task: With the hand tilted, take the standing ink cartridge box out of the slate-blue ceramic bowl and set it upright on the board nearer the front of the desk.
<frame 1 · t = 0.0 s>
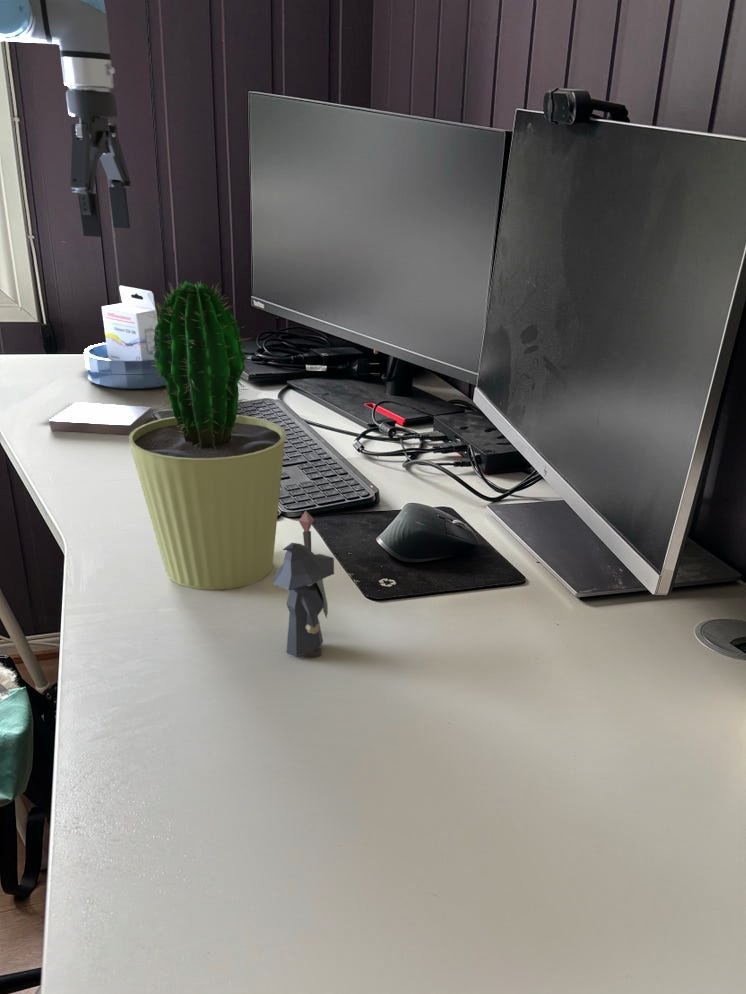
hand: (107, 232, 164), 23 cm above the table, tool pointing down, fingers open, 13 cm apart
bowl: (137, 379, 170), on the table
board: (103, 423, 147), on the table
potted cactus: (220, 568, 104), on the table
wizard figurine: (302, 647, 90), on the table
ink cartridge box: (136, 377, 170), resting on bowl
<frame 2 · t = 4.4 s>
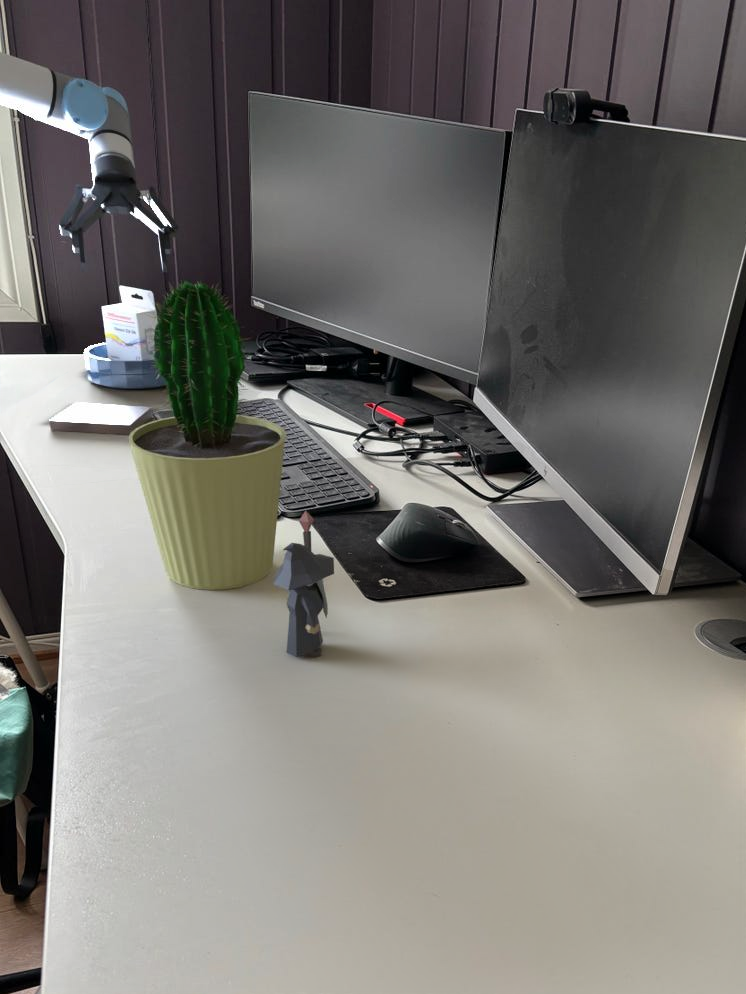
hand: (124, 267, 171), 17 cm above the table, tool tilted 45°, fingers open, 13 cm apart
nothing on the table moved.
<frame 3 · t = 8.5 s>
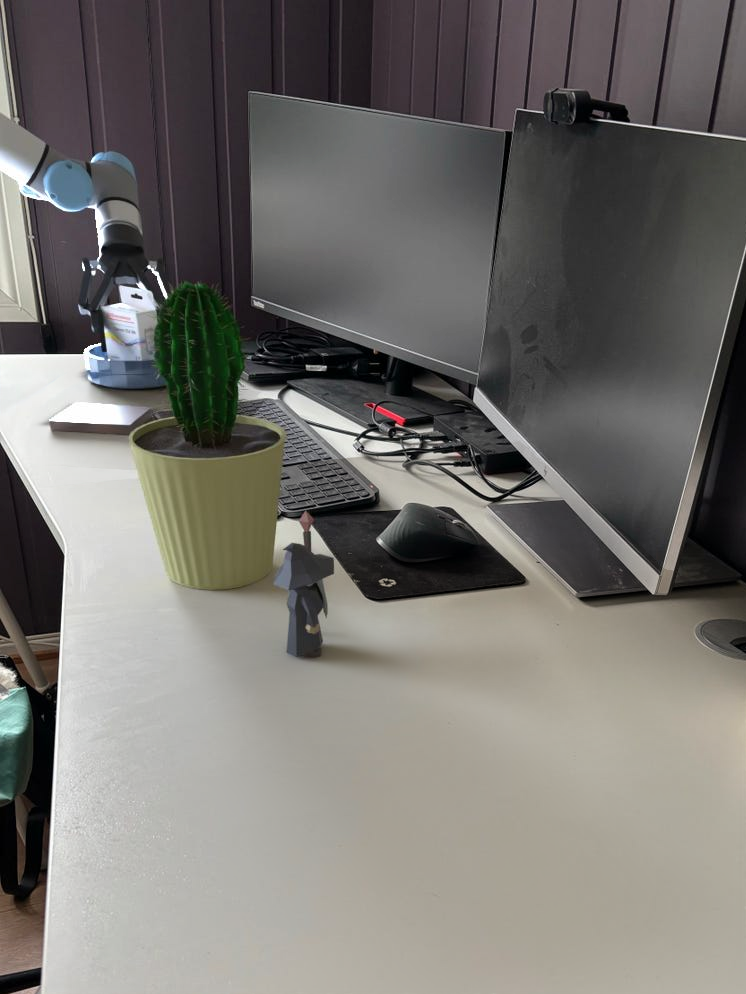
hand: (133, 346, 165), 6 cm above the table, tool tilted 45°, fingers closed on ink cartridge box, 9 cm apart
ink cartridge box: (136, 377, 170), resting on bowl, touching gripper
everything else where it was.
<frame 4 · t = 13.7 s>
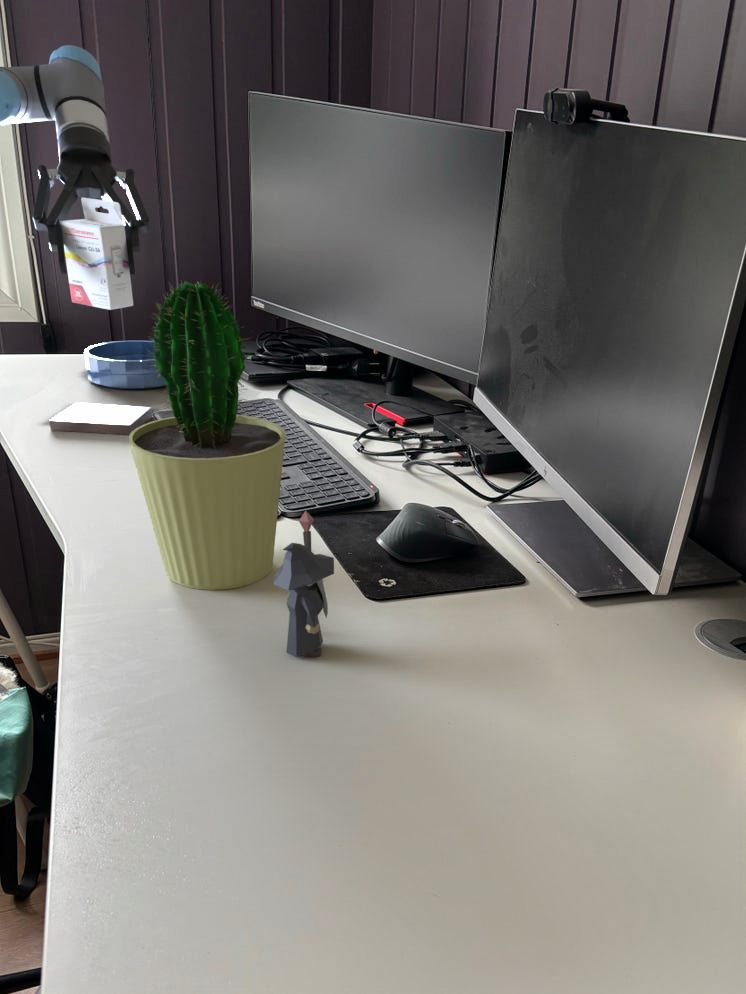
hand: (97, 268, 142), 22 cm above the table, tool tilted 45°, fingers closed on ink cartridge box, 9 cm apart
ink cartridge box: (102, 306, 147), point 16 cm above the table, touching gripper
everything else where it was.
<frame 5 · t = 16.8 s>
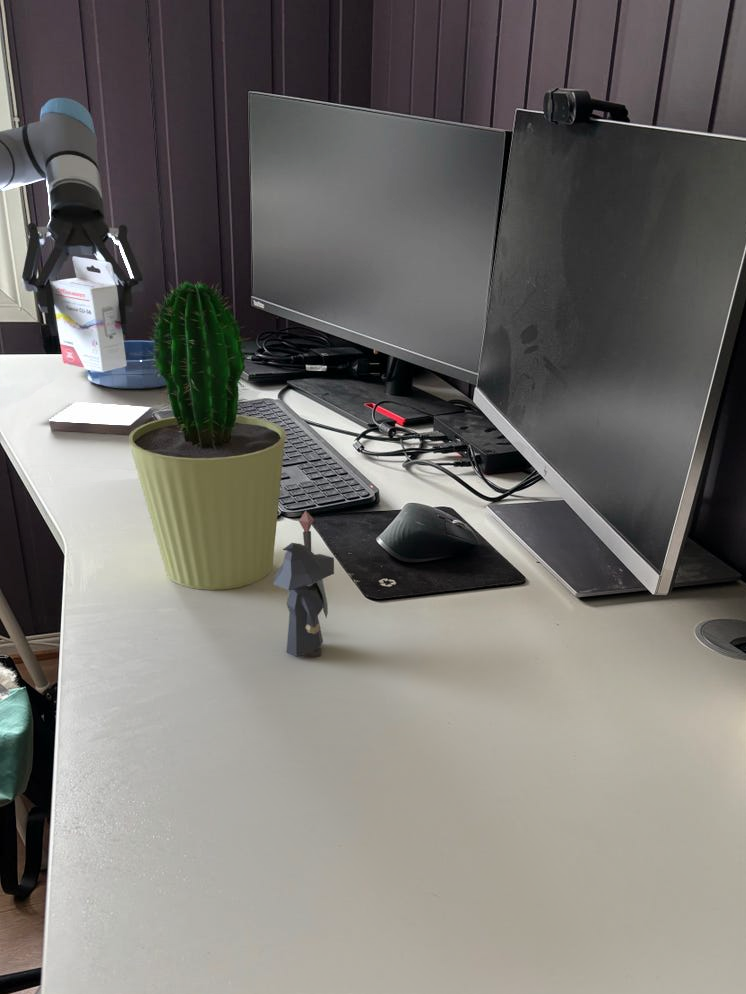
hand: (89, 329, 137), 15 cm above the table, tool tilted 45°, fingers closed on ink cartridge box, 9 cm apart
ink cartridge box: (95, 366, 143), point 9 cm above the table, touching gripper
everything else where it was.
when the fingers open (7 cm above the table, at t = 19.3 s): ink cartridge box stays where it is, resting on board.
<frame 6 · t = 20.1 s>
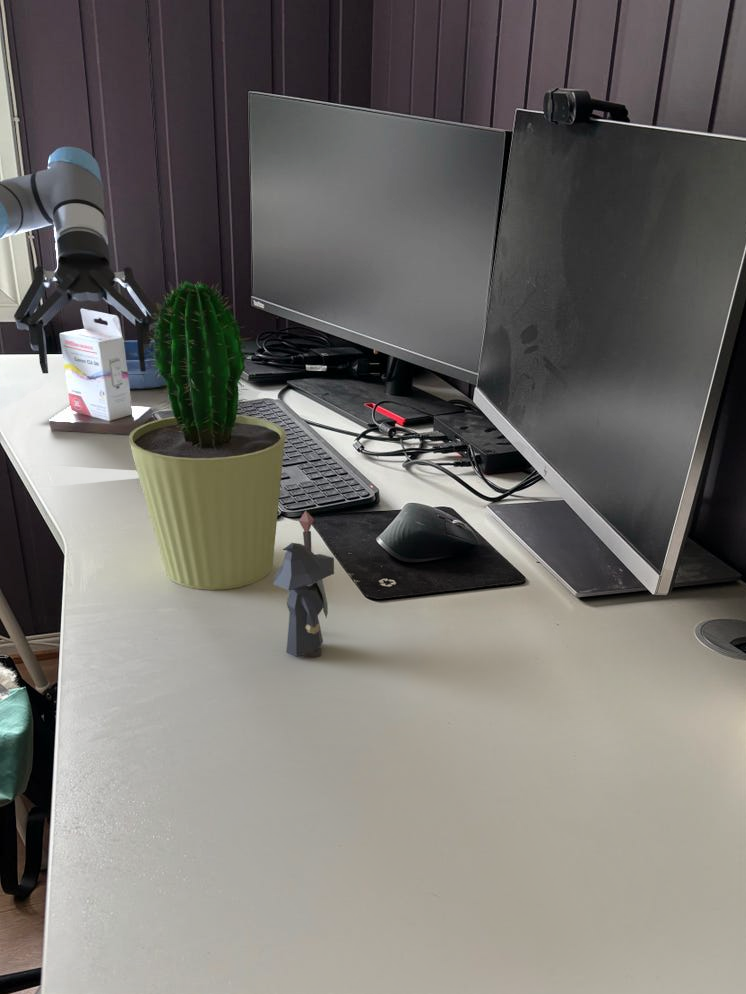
hand: (94, 367, 141), 9 cm above the table, tool tilted 45°, fingers open, 13 cm apart
ink cartridge box: (102, 414, 146), point 1 cm above the table, touching board
everything else where it was.
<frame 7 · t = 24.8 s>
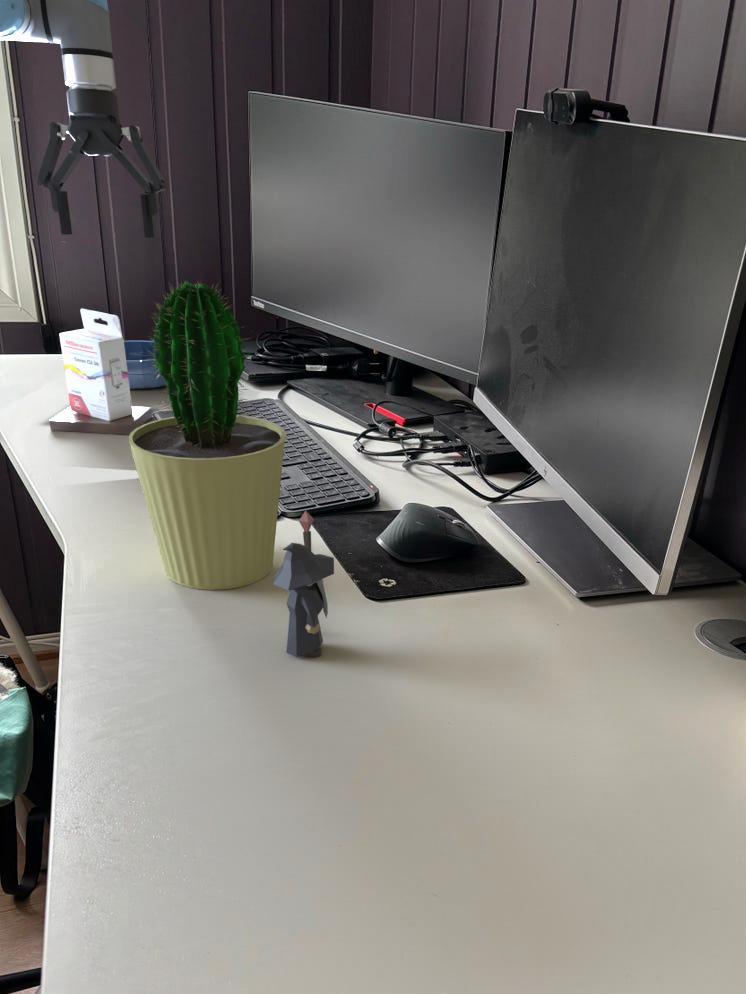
hand: (108, 236, 159), 24 cm above the table, tool pointing down, fingers open, 13 cm apart
nothing on the table moved.
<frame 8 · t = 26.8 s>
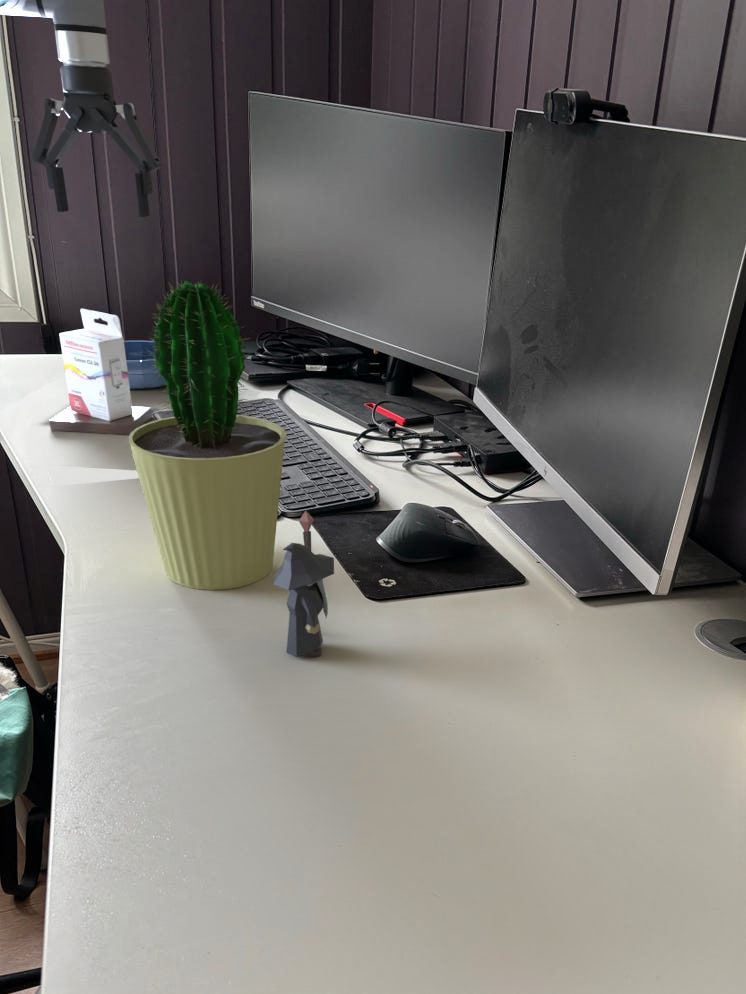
hand: (103, 214, 159), 27 cm above the table, tool pointing down, fingers open, 13 cm apart
nothing on the table moved.
at the end: ink cartridge box inside the target area on the board (0.0 cm from its centre), point 1.3 cm above the board's base; ink cartridge box tilted 0°; the gripper is holding nothing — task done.
